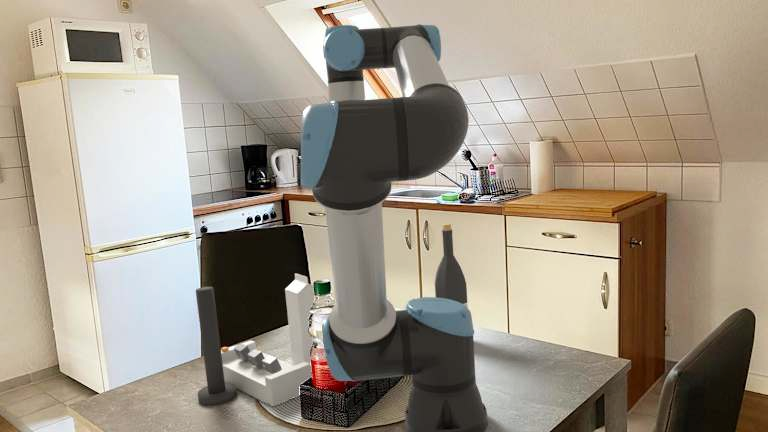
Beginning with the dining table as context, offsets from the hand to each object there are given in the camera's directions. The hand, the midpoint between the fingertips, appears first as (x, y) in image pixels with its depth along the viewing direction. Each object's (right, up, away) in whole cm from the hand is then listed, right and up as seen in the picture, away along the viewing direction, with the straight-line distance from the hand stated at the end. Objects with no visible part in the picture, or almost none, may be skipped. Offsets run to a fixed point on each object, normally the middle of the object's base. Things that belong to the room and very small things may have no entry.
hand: (356, 214), depth 137 cm
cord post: (-30, -39, +1) cm, 49 cm away
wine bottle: (+23, -32, +22) cm, 45 cm away
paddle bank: (-22, -33, +5) cm, 40 cm away
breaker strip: (-21, -38, +6) cm, 44 cm away
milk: (-12, -36, +14) cm, 40 cm away
